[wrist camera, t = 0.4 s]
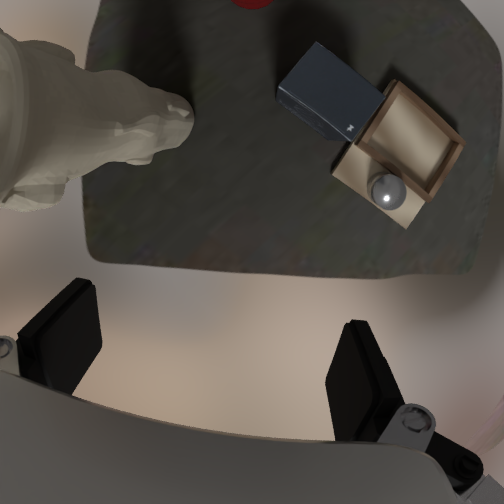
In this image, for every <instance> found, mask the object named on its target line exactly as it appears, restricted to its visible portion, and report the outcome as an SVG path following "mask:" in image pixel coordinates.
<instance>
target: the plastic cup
mask: <svg viewBox="0 0 504 504" xmlns="http://www.w3.org/2000/svg"><path fill="white" fill-rule="evenodd" d="M231 1H232V2H234V3H235V4H236V5H238V6H240V7H243V8H246V9H259V8H262V7H265V6H267V5H268V4H270V3H271V2H272V1H273V0H231Z"/></svg>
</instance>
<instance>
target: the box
mask: <svg viewBox="0 0 504 504" xmlns="http://www.w3.org/2000/svg"><path fill="white" fill-rule="evenodd" d="M385 97H386V96H385V95H384V94H382V93H381V92H380V91H379V90H378V89H377V88H376V87H374V86H373V85H372V84H371V83H370V82H368V81H367V80H366V79H365V78H364V77H362V76H361V75H360V74H359V73H357V72H356V71H355V70H354V69H352V68H351V67H350V66H349V65H347V64H346V63H345V62H343V61H342V60H341V59H340V58H338V57H337V56H336V55H334V54H333V53H331V52H330V51H329V50H327V49H326V48H325V47H323V46H322V45H320V44H319V43H318V42H315V43H314V44H313V45H312V46H311V48H310V49H309V50H308V51H307V52H306V53H305V54H304V56H303V57H302V58H301V59H300V60H299V61H298V63H297V64H296V65H295V66H294V67H293V68H292V70H291V71H290V72H289V73H288V74H287V75H286V77H285V78H284V79H283V80H282V81H281V82H280V84H279V85H278V88H277V93H276V101H277V102H278V103H279V104H281V105H282V106H283V107H285V108H286V109H287V110H289V111H290V112H292V113H293V114H294V115H296V116H297V117H298V118H300V119H301V120H302V121H304V122H305V123H306V124H308V125H309V126H310V127H312V128H313V129H314V130H315V131H317V132H318V133H319V134H321V135H322V136H323V137H324V138H326V139H327V140H334V141H352V140H353V139H354V138H355V136H356V135H357V134H358V132H359V131H360V130H361V129H362V127H363V126H364V125H365V123H366V122H367V121H368V120H369V118H370V117H371V116H372V114H373V113H374V112H375V110H376V109H377V108H378V107H379V105H380V104H381V103H382V101H383V100H384V99H385Z"/></svg>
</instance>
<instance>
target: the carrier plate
mask: <svg viewBox="0 0 504 504" xmlns="http://www.w3.org/2000/svg"><path fill="white" fill-rule="evenodd" d="M383 94H384V95H385V96H386V97H385V99H384V100H383V101H382V103H381V104H380V105H379V107H378V108H377V109H376V110H375V112H374V113H373V114H372V116H371V117H370V118H369V120H368V121H367V122H366V123H365V125H364V126H363V127H362V129H361V130H360V131H359V132H358V134H357V135H356V136H355V138H354V139H353V140H352V142H351V143H350V145H349V146H348V148H347V149H346V151H345V152H344V154H343V155H342V157H341V159H340V160H339V162H338V163H337V165H336V166H335V168H334V169H333V171H332V172H331V174H332V175H333V176H335V177H336V178H338V179H339V180H341V181H342V182H343V183H345V184H346V185H348V186H349V187H350V188H352V189H353V190H355V191H356V192H357V193H359V194H360V195H362V196H363V197H364V198H366V199H367V200H368V201H370V202H371V203H373V204H374V205H375V206H377V207H378V208H379V209H381V210H382V211H383V212H384V213H386V214H387V215H388V216H390V217H391V218H392V219H394V220H395V221H396V222H397V223H399V224H400V225H401V226H403V227H404V228H405V229H407V227H408V226H409V225H410V223H411V222H412V220H413V219H414V217H415V216H416V214H417V213H418V211H419V210H420V208H421V207H422V205H423V204H424V202H425V201H426V202H428V203H430V202H431V200H432V198H433V197H434V195H435V194H436V192H437V191H438V189H439V187H440V186H441V184H442V183H443V181H444V179H445V178H446V176H447V175H448V173H449V171H450V170H451V168H452V166H453V165H454V163H455V161H456V160H457V158H458V156H459V154H460V153H461V151H462V149H463V147H464V146H465V144H466V142H465V141H464V140H463V139H462V138H461V137H460V136H459V135H458V134H457V132H456V131H455V130H454V129H453V128H452V127H451V126H450V125H448V124H447V123H446V122H445V121H444V120H443V119H442V118H441V117H440V116H439V115H438V114H437V113H436V112H435V111H434V110H433V109H432V108H431V107H429V106H428V105H427V104H426V103H425V102H424V101H423V100H422V99H420V98H419V97H418V96H417V95H416V94H415V93H414V92H412V91H411V90H410V89H409V88H408V87H406V86H405V85H404V84H403V83H401V82H400V81H397V80H395V79H392V80H391V81H390V83H389V84H388V86H387V88H386V89H385V91H384V92H383Z"/></svg>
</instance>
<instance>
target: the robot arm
mask: <svg viewBox="0 0 504 504" xmlns="http://www.w3.org/2000/svg"><path fill="white" fill-rule="evenodd" d="M99 322H100V321H99V315H98V306H97V296H96V288H95V285H93V284H92V282H91V281H90V280H87V279H83V278H75V279H74V280H73V281H72V282H71V283H70V284H69V285H67V286H66V287H65V288H64V289H63V290H62V291H61V292H60V293H59V294H58V295H57V296H55V297H54V298H53V299H52V300H51V301H50V302H49V303H48V304H47V305H46V306H45V307H44V308H43V309H42V310H41V311H40V312H39V313H37V314H36V316H34V317H33V318H32V319H31V320H30V321H29V322H28V323H27V324H26V325H25V326H24V327H23V328H22V329H21V330H20V331H19V332H18V333H17V334H18V339H17V340H16V341H15V340H14V339H13V338H11V337H9V336H0V504H504V488H503V487H502V486H501V485H500V484H499V483H498V482H497V481H495V480H494V479H493V478H492V477H491V476H490V475H489V474H488V475H487V476H486V477H485V476H484V475H483V470H484V469H483V464H482V461H481V460H480V458H479V457H478V456H477V455H476V454H475V453H473V452H471V451H470V450H468V449H466V448H464V447H462V446H460V445H458V444H457V443H455V442H453V441H451V440H449V439H447V438H446V437H444V436H442V435H440V434H439V433H437V432H435V431H434V430H435V427H436V421H435V418H434V416H433V414H432V413H431V412H430V411H429V410H428V409H426V408H425V407H423V406H421V405H418V404H412V403H411V404H405V402H404V400H403V397H402V395H401V393H400V390H399V388H398V385H397V383H396V381H395V379H394V376H393V374H392V372H391V369H390V367H389V365H388V363H387V360H386V359H385V357H383V354H382V352H381V350H380V348H379V346H378V343H377V341H376V339H375V337H374V335H373V333H372V331H371V328H370V326H369V324H368V322H367V321H364V320H353V319H352V320H351V321H350V323H346V324H345V325H344V328H343V331H342V334H341V337H340V340H339V343H338V346H337V349H336V351H335V355H334V357H333V360H332V363H331V365H330V368H329V371H328V374H327V376H326V382H325V386H326V391H327V396H328V402H329V407H330V413H331V418H332V424H333V429H334V435H335V441H320V440H300V439H283V438H270V437H260V436H250V435H242V434H234V433H226V432H220V431H213V430H207V429H201V428H195V427H190V426H184V425H179V424H174V423H169V422H165V421H160V420H156V419H152V418H147V417H143V416H139V415H135V414H132V413H128V412H124V411H120V410H117V409H113V408H110V407H106V406H103V405H100V404H96V403H93V402H90V401H87V400H84V399H81V398H78V397H75V396H72V393H73V392H74V390H75V389H76V387H77V385H78V384H79V382H80V381H81V379H82V377H83V376H84V374H85V373H86V371H87V370H88V368H89V367H90V365H91V364H92V362H93V361H94V359H95V357H96V356H97V354H98V353H99V352H100V350H101V348H102V336H101V329H100V323H99Z"/></svg>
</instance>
